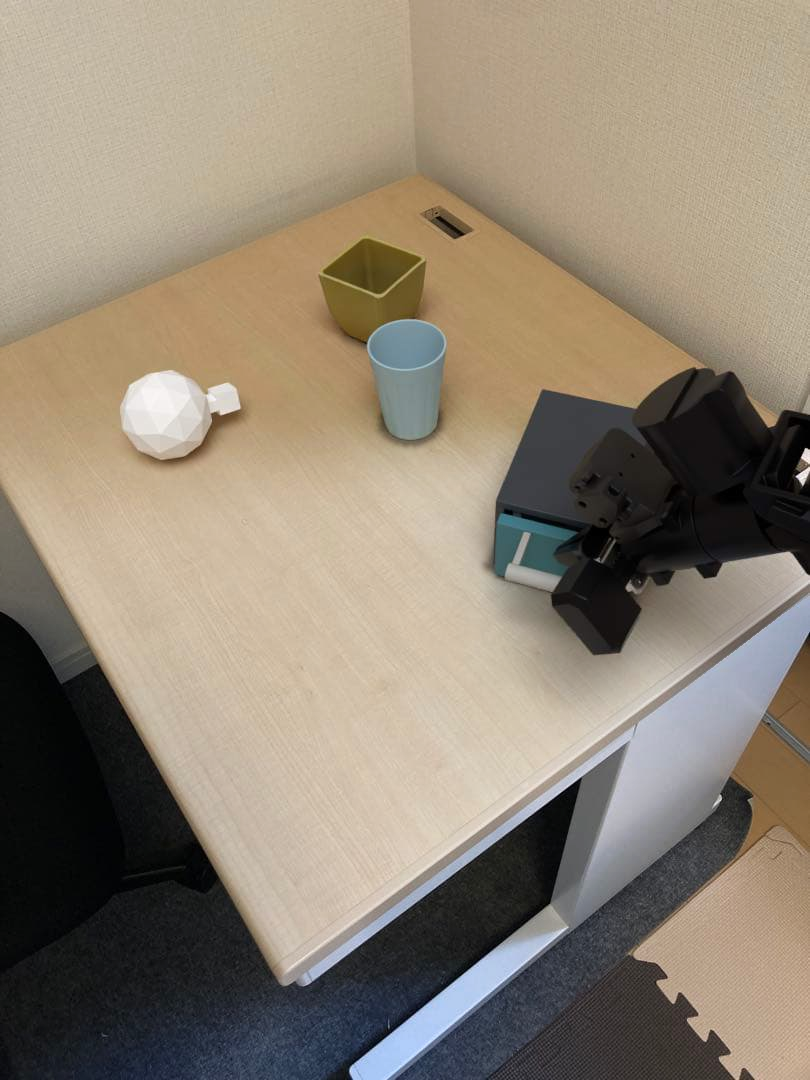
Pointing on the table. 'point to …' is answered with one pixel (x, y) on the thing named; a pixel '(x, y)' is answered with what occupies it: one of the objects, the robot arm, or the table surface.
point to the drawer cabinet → (557, 455)
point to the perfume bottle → (172, 413)
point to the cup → (408, 375)
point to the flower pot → (372, 285)
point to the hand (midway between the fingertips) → (557, 555)
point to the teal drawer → (530, 549)
